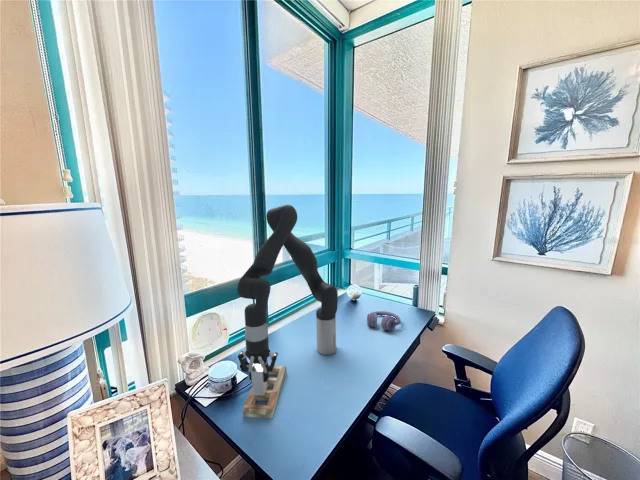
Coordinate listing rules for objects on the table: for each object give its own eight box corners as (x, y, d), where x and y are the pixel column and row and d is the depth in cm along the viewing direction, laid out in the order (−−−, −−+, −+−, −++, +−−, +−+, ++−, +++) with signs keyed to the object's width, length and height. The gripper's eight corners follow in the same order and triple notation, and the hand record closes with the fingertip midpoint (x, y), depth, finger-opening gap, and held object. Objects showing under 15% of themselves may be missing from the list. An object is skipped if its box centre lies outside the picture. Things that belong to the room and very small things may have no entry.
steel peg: (267, 387, 93) (266, 364, 91) (264, 395, 89) (262, 371, 87) (256, 386, 93) (255, 363, 91) (252, 395, 89) (251, 371, 88)
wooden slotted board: (286, 372, 110) (286, 365, 109) (272, 418, 87) (271, 409, 86) (263, 371, 110) (263, 364, 110) (243, 416, 88) (242, 408, 87)
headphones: (394, 335, 136) (403, 324, 153) (395, 319, 136) (404, 311, 153) (361, 326, 145) (373, 317, 163) (362, 312, 145) (374, 305, 162)
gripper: (280, 329, 90) (282, 374, 93) (240, 328, 92) (243, 372, 94) (274, 341, 83) (276, 389, 86) (231, 340, 84) (235, 387, 87)
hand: (259, 380), depth 90 cm, fingers closed on steel peg, 4 cm apart
